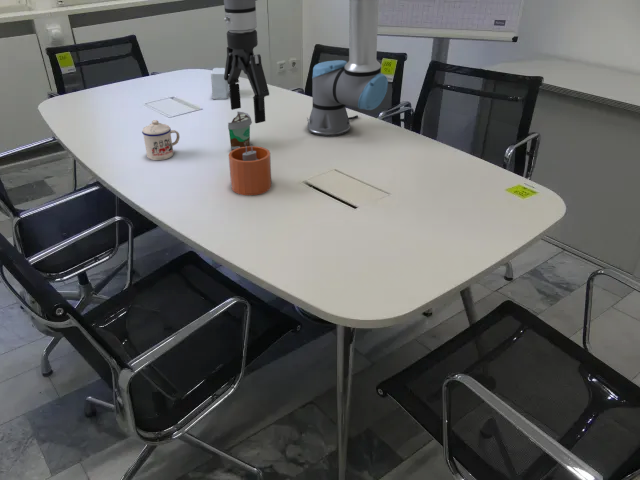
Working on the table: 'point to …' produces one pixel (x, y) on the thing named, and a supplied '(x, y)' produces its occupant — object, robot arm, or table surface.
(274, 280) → the table surface
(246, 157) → the power adapter
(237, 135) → the food container
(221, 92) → the cosmetics box
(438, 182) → the table surface
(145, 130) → the teacup with lid
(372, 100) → the robot arm
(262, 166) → the orange flower pot
